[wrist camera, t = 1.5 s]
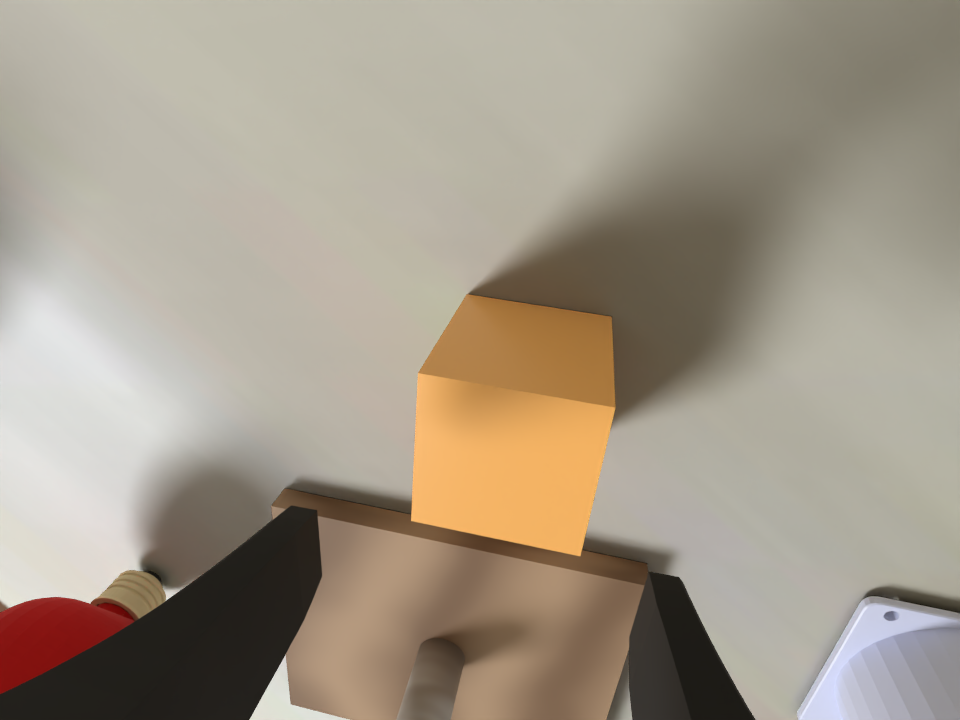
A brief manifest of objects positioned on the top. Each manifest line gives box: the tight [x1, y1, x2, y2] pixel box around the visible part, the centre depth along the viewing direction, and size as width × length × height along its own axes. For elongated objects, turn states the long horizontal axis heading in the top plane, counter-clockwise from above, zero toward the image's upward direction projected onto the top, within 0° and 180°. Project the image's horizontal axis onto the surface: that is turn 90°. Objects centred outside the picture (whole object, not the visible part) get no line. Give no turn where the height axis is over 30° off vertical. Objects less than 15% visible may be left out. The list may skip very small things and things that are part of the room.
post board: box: [271, 488, 648, 720], centre depth 25 cm, size 16×14×6 cm
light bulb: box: [0, 570, 166, 694], centre depth 26 cm, size 9×7×10 cm
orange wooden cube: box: [411, 294, 615, 556], centre depth 18 cm, size 5×5×6 cm
